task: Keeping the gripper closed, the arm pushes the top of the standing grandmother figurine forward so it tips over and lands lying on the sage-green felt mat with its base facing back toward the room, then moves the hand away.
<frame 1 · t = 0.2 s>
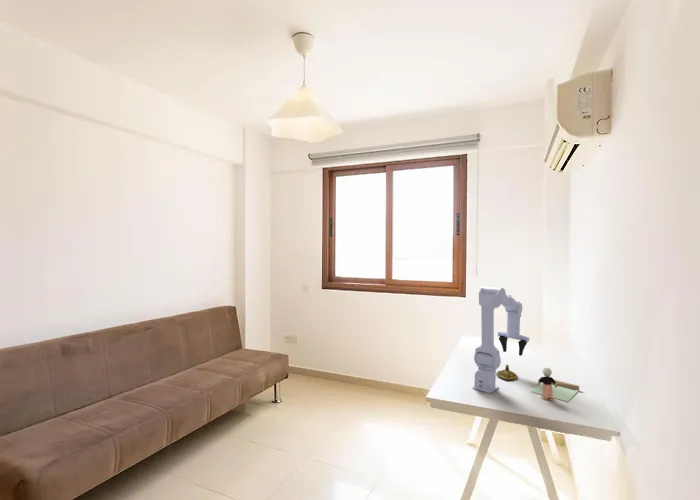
hand: (512, 353, 179), 10 cm above the table, tool pointing down, fingers open, 7 cm apart
seal: (506, 377, 176), on the table
beech stop strip: (560, 386, 164), on the table
felt mat: (554, 391, 158), on the table
grandmother figurine: (546, 399, 150), on the table
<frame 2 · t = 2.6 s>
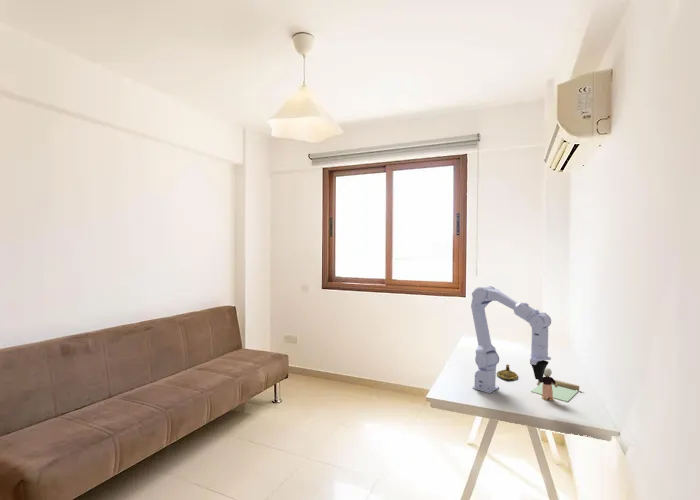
hand: (538, 379, 143), 10 cm above the table, tool pointing down, fingers closed
nothing on the table moved.
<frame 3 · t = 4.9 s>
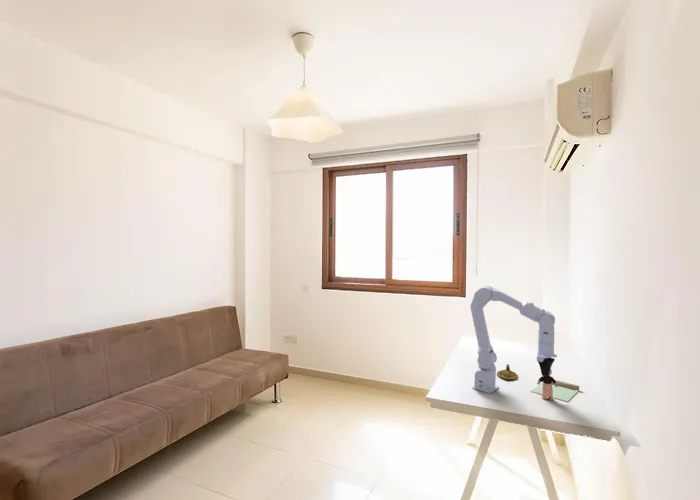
hand: (545, 375, 148), 10 cm above the table, tool pointing down, fingers closed
grandmother figurine: (546, 398, 150), on the table, touching gripper
everything else where it was.
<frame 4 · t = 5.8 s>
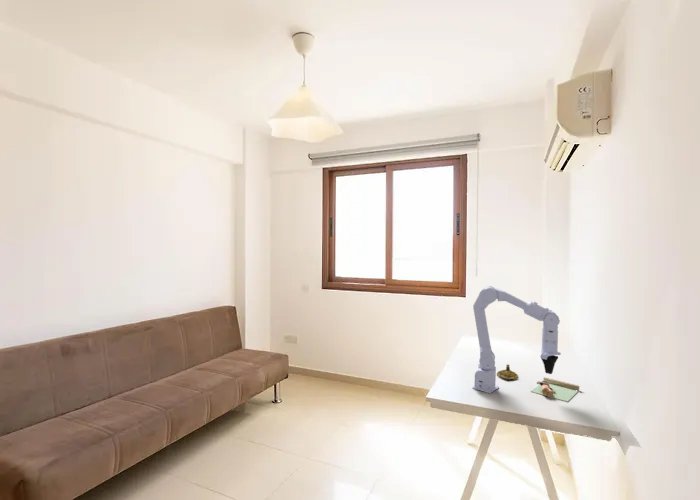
hand: (548, 373, 152), 10 cm above the table, tool pointing down, fingers closed
grandmother figurine: (546, 392, 152), point 2 cm above the table, touching felt mat
everything else where it was.
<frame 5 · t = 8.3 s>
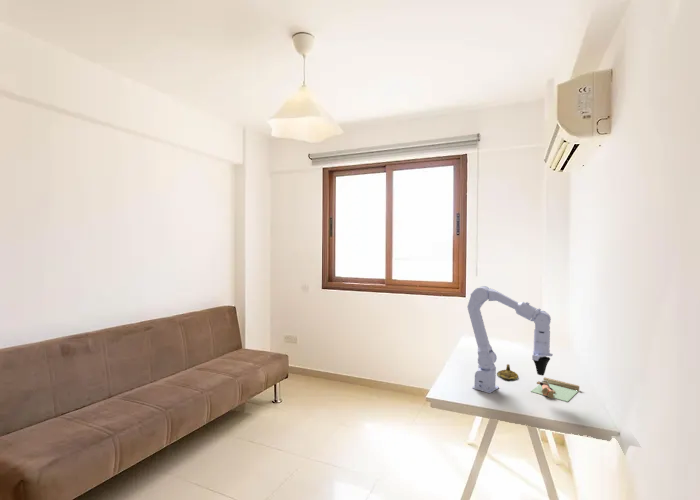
hand: (540, 374, 150), 10 cm above the table, tool pointing down, fingers closed
nothing on the table moved.
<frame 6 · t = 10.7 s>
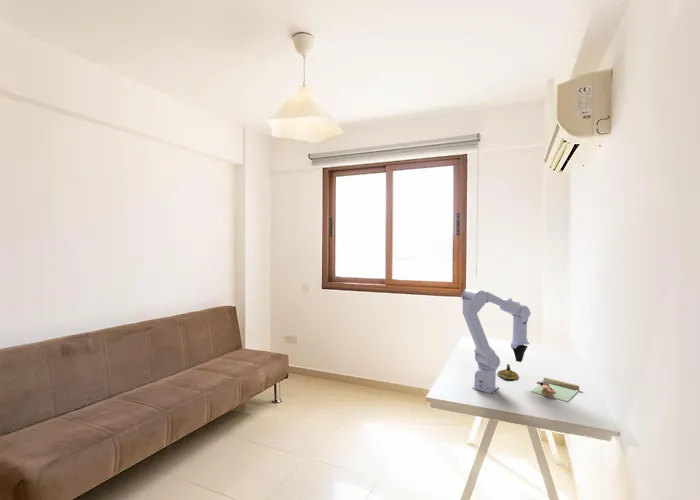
hand: (518, 361, 166), 10 cm above the table, tool pointing down, fingers closed
nothing on the table moved.
at the end: grandmother figurine tilted 92°; grandmother figurine inside the target area (7.4 cm from its centre), point 2.1 cm above the table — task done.
